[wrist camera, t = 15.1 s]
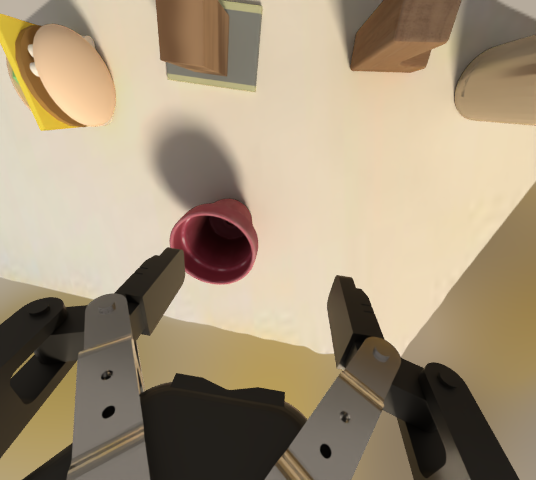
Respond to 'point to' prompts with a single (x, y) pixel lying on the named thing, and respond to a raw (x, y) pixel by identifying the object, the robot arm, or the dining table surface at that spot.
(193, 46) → the walnut block
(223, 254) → the plant pot
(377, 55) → the wooden block
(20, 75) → the hamburger
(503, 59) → the robot arm
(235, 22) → the mat
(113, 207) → the dining table surface
